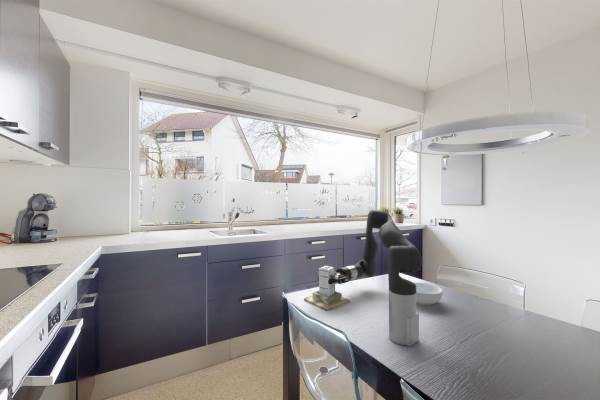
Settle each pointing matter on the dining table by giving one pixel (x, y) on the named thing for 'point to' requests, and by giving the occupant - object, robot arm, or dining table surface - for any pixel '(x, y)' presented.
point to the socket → (327, 300)
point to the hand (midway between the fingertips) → (323, 280)
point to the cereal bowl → (427, 294)
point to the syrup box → (326, 281)
